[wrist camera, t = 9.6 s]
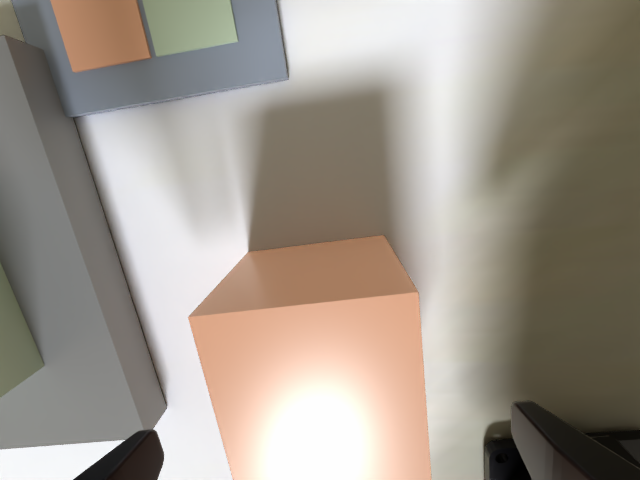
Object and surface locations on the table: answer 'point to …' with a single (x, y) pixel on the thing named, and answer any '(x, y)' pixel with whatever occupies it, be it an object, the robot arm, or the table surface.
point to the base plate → (64, 276)
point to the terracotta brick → (317, 364)
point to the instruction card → (152, 48)
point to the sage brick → (14, 341)
